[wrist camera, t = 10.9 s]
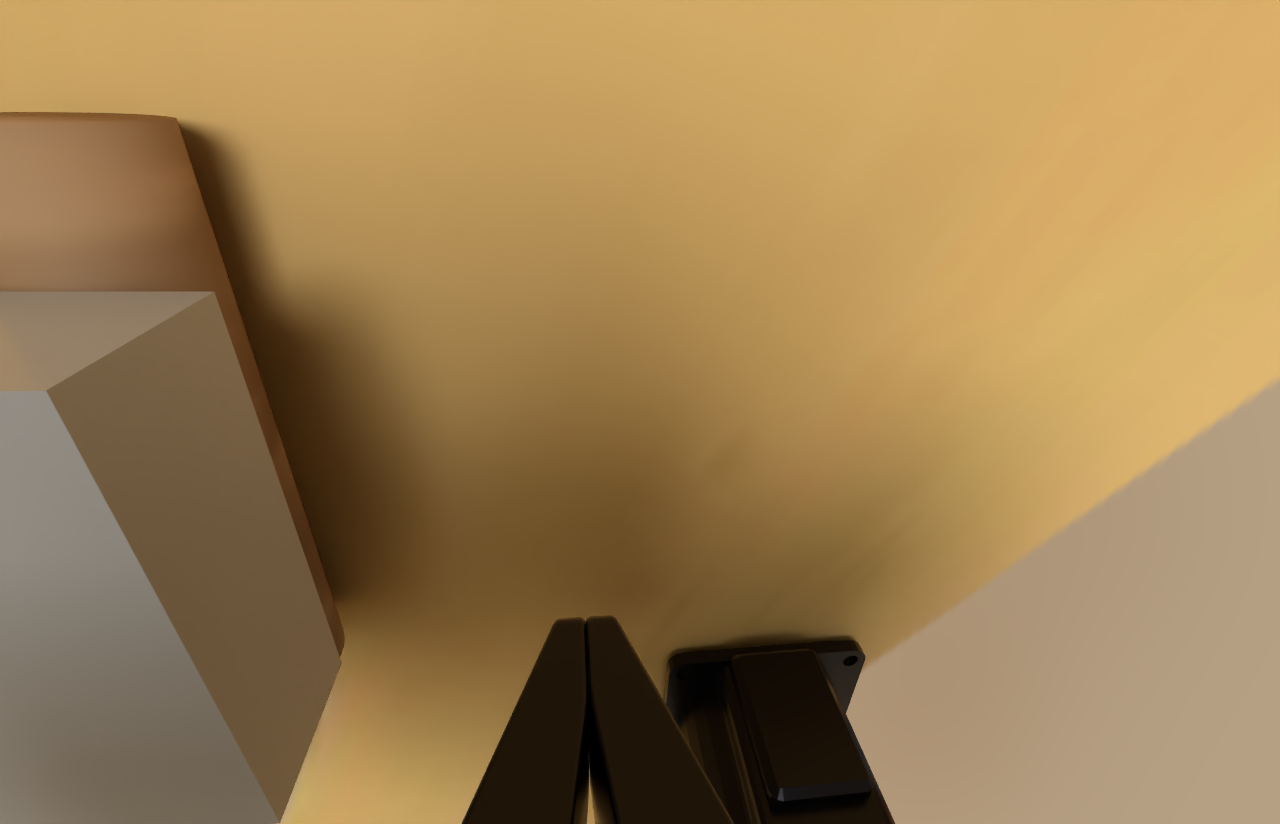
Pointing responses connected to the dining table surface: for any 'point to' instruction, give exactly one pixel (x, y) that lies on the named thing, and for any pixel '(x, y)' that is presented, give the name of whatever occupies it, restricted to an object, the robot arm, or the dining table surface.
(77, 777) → the slab
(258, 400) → the roller track
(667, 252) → the dining table surface
